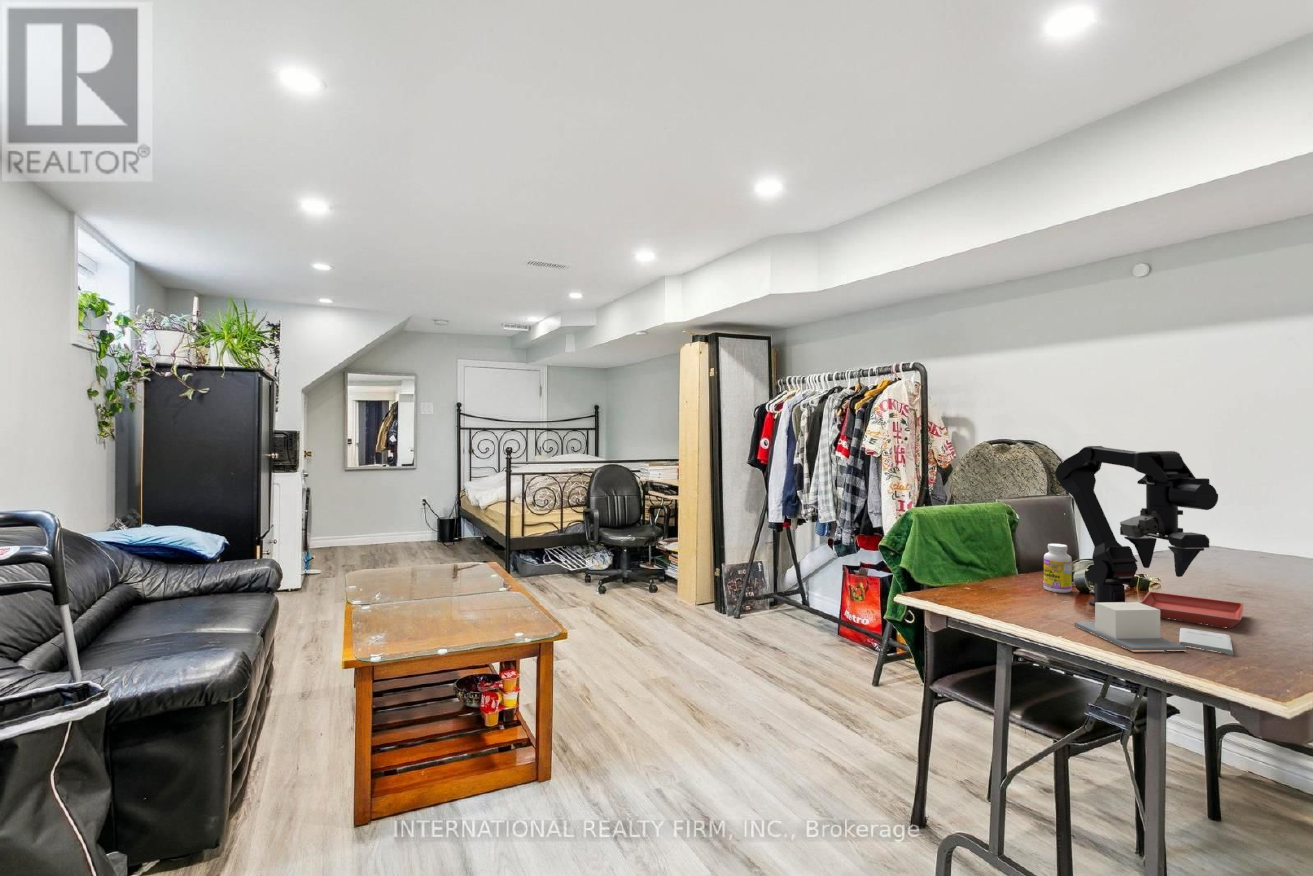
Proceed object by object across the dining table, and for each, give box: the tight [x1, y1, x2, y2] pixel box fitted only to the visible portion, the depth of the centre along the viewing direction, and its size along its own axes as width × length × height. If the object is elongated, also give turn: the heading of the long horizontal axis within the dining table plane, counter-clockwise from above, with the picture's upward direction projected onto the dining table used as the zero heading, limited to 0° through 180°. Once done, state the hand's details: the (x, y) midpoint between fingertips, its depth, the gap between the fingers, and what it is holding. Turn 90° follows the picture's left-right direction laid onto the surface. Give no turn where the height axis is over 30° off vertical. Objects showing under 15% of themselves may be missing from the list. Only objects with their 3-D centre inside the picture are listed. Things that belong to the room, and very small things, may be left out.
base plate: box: [1074, 621, 1187, 651], centre depth 133 cm, size 17×11×4 cm, turn 0°
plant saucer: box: [1140, 591, 1244, 629], centre depth 149 cm, size 18×18×3 cm
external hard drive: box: [1178, 627, 1234, 656], centre depth 130 cm, size 2×8×12 cm
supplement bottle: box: [1043, 543, 1073, 594], centre depth 174 cm, size 7×7×13 cm
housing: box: [1094, 601, 1161, 639], centre depth 133 cm, size 10×6×6 cm, turn 91°
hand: (1162, 572), depth 143 cm, fingers open, 9 cm apart
